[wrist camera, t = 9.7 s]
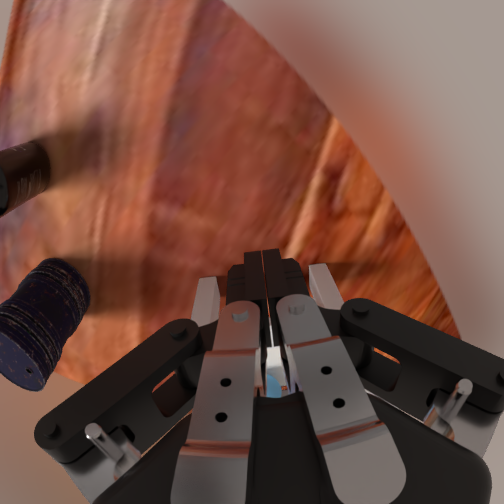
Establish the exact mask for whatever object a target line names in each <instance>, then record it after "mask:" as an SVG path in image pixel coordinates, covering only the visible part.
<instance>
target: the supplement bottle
mask: <svg viewBox="0 0 504 504" xmlns="http://www.w3.org/2000/svg"><path fill="white" fill-rule="evenodd" d="M49 177H50V163H49V159H48V156H47V154H46V152H45V151H44V149H43V148H42V147H41V146H39V145H38V144H36V143H33V142H27V143H23V144H20V145H16V146H13V147H10V148H7V149H4V150H1V151H0V218H1V217H3V216H4V215H6V214H7V213H9V212H10V211H12V210H14V209H15V208H17V207H18V206H20V205H22V204H23V203H25V202H27V201H28V200H30V199H32V198H33V197H35V196H37V195H38V194H40V193H41V192H42V191H43V190H44V189H45V187H46V186H47V184H48V181H49Z"/></svg>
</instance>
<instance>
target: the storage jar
mask: <svg viewBox="0 0 504 504" xmlns="http://www.w3.org/2000/svg"><path fill="white" fill-rule="evenodd" d="M89 305H90V292H89V288H88V286H87V284H86V282H85V280H84V278H83V277H82V276H81V274H80V273H79V272H78V271H77V270H76V269H75V268H74V267H73V266H71V265H70V264H68V263H67V262H65V261H63V260H60V259H56V258H49V259H45V260H43V261H42V262H41V263H40V264H39V265H38V266H37V267H36V268H35V269H33V270H32V271H31V272H30V273H29V274H28V275H27V276H26V277H25V279H24V280H22V282H21V283H20V285H19V286H18V289H17V290H16V292H15V293H14V294H13V295H12V296H11V297H10V298H9V299H8V300H6V301H4V302H3V303H2V304H0V373H1V374H2V375H3V376H4V377H6V378H7V379H8V380H9V381H11V382H12V383H14V384H16V385H17V386H20V387H21V388H23V389H26V390H29V391H34V392H38V391H41V390H42V389H43V388H44V386H45V384H46V382H47V380H48V378H49V376H50V375H51V374H52V372H53V371H54V369H55V367H56V365H57V362H58V361H59V360H60V357H61V354H62V348H63V346H64V345H65V343H66V341H67V339H68V338H69V337H70V336H71V335H72V334H73V333H74V332H75V331H76V329H77V327H78V325H79V324H80V322H81V321H82V318H83V316H84V313H85V312H86V310H87V309H88V307H89Z"/></svg>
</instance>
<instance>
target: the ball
mask: <svg viewBox="0 0 504 504" xmlns="http://www.w3.org/2000/svg"><path fill="white" fill-rule="evenodd" d="M281 394H282V391H281V386H280V384H279V382H278V381H277V380H276V379H275V378H274V377H273V376H271V375H268V374H267V397H272V398H280V397H281Z"/></svg>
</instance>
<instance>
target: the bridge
mask: <svg viewBox="0 0 504 504" xmlns="http://www.w3.org/2000/svg"><path fill="white" fill-rule="evenodd" d="M309 286H310V289H311V292H312V295H313V298H314V300H315V302H316V304H317V305H318V306H320V307H323V308H327V309H337V310H340V309H341V306H342V305H343V304H344V301H343V299H342V297H341V295H340V293H339V291H338V288H337V286H336V284H335V282H334V280H333V278H332V276H331V274H330V272H329V270H328V267H327V265H326V263H322V264H314V265H309ZM219 306H220V293H219V289H218V284H217V279H216V276H215V277H206V278H199V282H198V287H197V292H196V297H195V301H194V306H193V311H192V316H191V320H193V321H195V322H196V323H197V324H198V327H200V326H203V325H207V324H209V323H212V322H214V321H216V320H217V319H218V317H219ZM269 324H270V333H271V342H272V347H269V348H267V349H272V348H279V346H276V347H274V344H273V336H272V328H271V320H270V317H269Z"/></svg>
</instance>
